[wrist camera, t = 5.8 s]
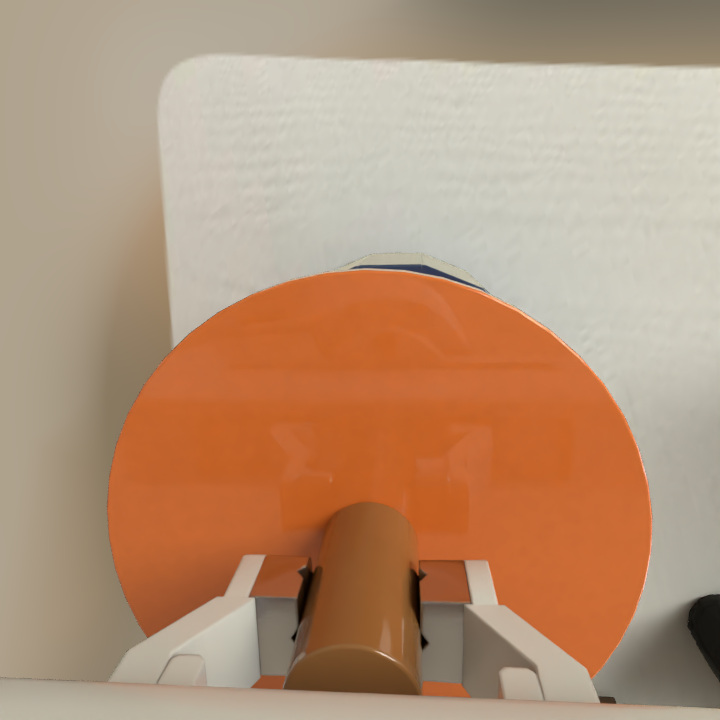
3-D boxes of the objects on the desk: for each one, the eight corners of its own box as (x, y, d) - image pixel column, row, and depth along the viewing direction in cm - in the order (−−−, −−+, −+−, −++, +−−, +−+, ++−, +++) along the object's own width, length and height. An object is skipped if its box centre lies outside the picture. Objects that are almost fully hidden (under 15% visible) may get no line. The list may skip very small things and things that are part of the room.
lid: (154, 717, 18) (27, 970, 12) (98, 270, 15) (-117, 306, 9) (612, 739, 17) (728, 1031, 11) (659, 261, 14) (860, 295, 8)
